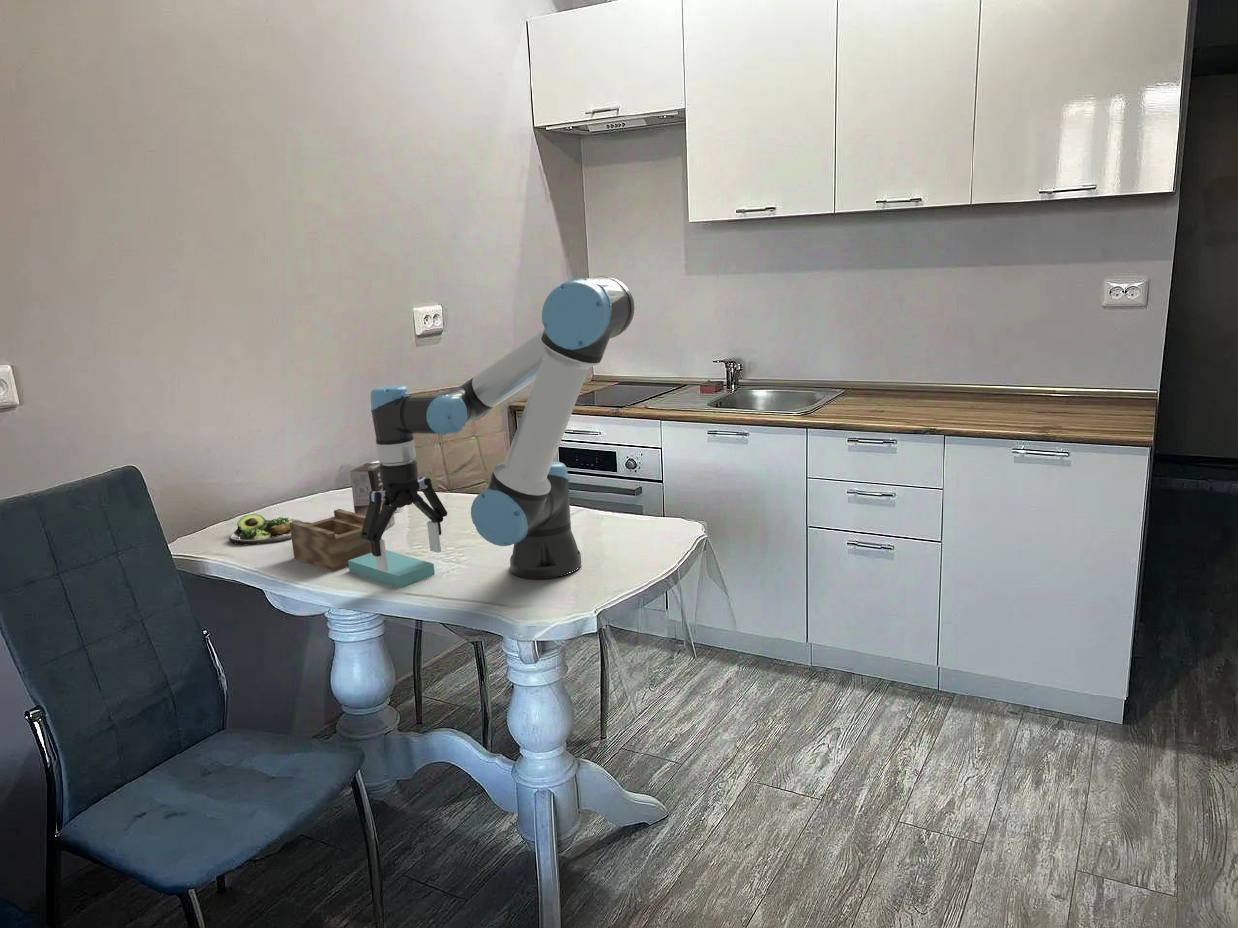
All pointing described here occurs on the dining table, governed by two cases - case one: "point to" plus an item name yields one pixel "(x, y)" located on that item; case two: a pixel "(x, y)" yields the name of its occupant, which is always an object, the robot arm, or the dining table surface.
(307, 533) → the walnut box
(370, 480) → the coffee box
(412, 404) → the robot arm
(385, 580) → the lid
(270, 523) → the salad plate
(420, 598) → the dining table surface
